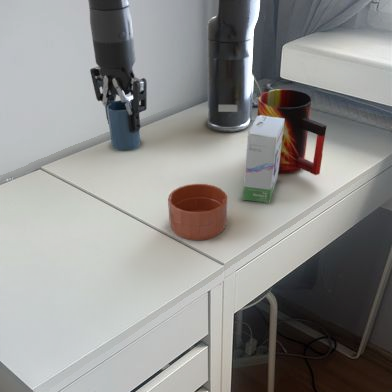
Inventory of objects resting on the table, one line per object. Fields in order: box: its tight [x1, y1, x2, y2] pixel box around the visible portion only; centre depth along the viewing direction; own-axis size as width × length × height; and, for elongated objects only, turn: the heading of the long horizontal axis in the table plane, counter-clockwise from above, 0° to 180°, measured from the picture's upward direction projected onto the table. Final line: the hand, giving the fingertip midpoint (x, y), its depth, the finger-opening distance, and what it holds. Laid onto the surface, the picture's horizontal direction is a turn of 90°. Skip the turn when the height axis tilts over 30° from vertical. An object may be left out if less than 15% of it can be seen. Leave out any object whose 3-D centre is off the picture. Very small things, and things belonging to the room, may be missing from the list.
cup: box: [106, 99, 141, 152], centre depth 104 cm, size 6×6×8 cm
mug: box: [257, 88, 327, 176], centre depth 95 cm, size 10×14×12 cm
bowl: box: [167, 183, 228, 241], centre depth 82 cm, size 9×9×5 cm
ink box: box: [242, 115, 285, 204], centre depth 88 cm, size 9×5×12 cm, turn 164°
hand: (123, 127), depth 104 cm, fingers closed on cup, 6 cm apart
